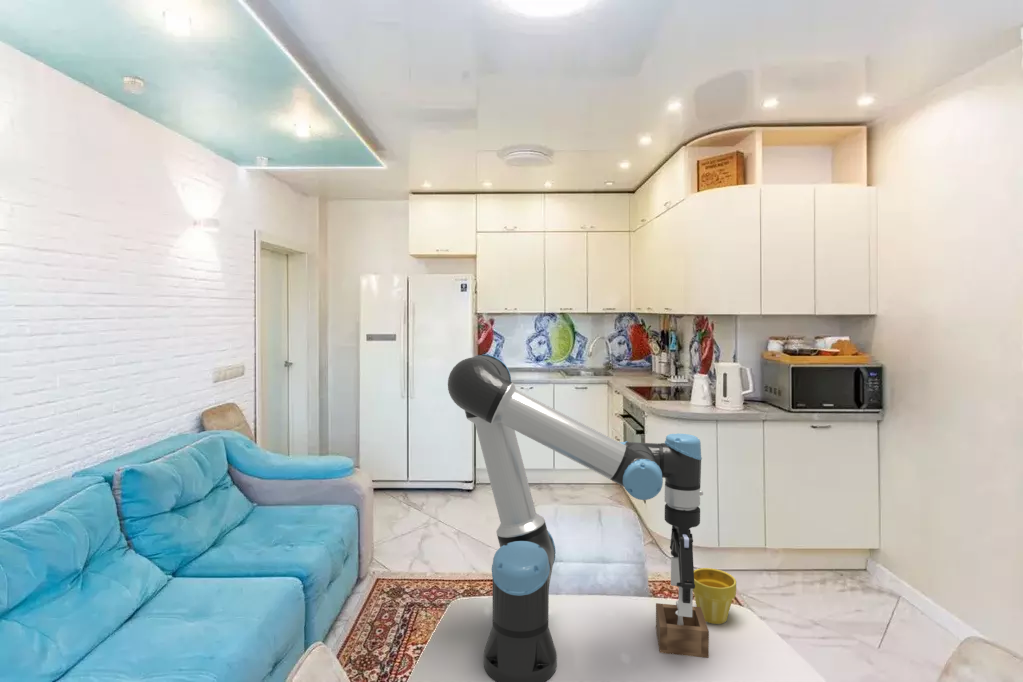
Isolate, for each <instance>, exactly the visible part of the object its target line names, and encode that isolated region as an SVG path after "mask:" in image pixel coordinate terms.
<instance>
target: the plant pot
mask: <svg viewBox="0 0 1023 682" xmlns="http://www.w3.org/2000/svg"><path fill="white" fill-rule="evenodd" d="M694 584H695V588H694V589H693V595H694V601H695V607H701V609H702V612H703V615H704V618H705V621H706V623H709V624H713V625H722V624H725V623H726V622H727V620H728V616H729V613H730V609H731V605H732V602H733V599H735V598H736V595H737V580H736V578H735V577H734V576H733V575H732V574H730V573H729V572H726V571H724V570H722V569H717V568H710V567H700V568H696V569H694Z"/></svg>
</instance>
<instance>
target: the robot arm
mask: <svg viewBox="0 0 1023 682" xmlns="http://www.w3.org/2000/svg"><path fill="white" fill-rule="evenodd" d="M447 390H448V391H447V392H448V394H449V396H450V398H451V400H452V401H453V403H455V405H457V406H458V407H459V408H460V409H462V410H464V412H465V416H466V417H465V418H466V419H467V421H470V422H472V423H473V424H474V425H475V429H476V433H477V436H478V441H479V444H480V449H481V452H482V456H483V461H484V464H485V469H486V472H487V476H488V479H489V482H490V483H489V485H490V487H491V490H492V495H493V499H494V503H495V506H496V510H497V514H498V518H499V522H500V524H499V525H498V528H497V529H496V536H497V541H498V543H499V544H498V545H499V548H498V549H497V550H496V551H495V552H494V555H493V558H492V564H491V576H492V626H491V629H490V633H489V635H488V639H487V642H486V645H485V648H484V653H483V667H484V670H485V672H486V673H487V675H488V677H490V678H491V679H492V680H494V681H496V682H546V681H547V680H549V679H550V678H551V677H553V676H554V674H555V673H556V670H557V665H558V663H557V661H558V660H557V659H558V655H557V654H558V653H557V650H556V646H555V643H554V639H553V636H552V634H551V631H550V628H549V608H550V607H549V604H550V603H549V601H550V599H549V594H550V591H549V590H550V583H551V578H552V573H553V566H554V564H555V562H556V561H555V560H556V545H555V542H554V539H553V536H552V534H551V533H550V531H549V530H548V528H547V524H546V523H547V522H546V520H545V518H544V517H543V516H541V515H540V514H538V513H537V511H536V507H535V504H534V503H535V502H534V500H533V495H532V492H531V489H530V485H529V480H528V477H527V473H526V469H525V465H524V462H523V458H522V453H521V450H520V446H519V442H518V438H517V434H516V432H517V433H520V434H521V435H524V436H525V437H527V438H529V439H531V440H533V441H535V442H537V443H539V444H540V445H542V446H544V447H547V448H548V449H550V450H552V451H553V452H557V453H558V454H560V455H562V456H563V457H566V458H568V459H570V460H572V461H574V462H576V463H577V464H579V465H581V466H583V467H585V468H586V469H589V470H591V471H593V472H595V473H597V474H598V475H600V476H602V477H604V478H606V479H609V481H612V482H613V483H616V484H617V485H620V487H621V486H622V487H623V488H624V490H625V491H626V492H627V493H628V494H629V496H631V497H632V498H635V499H637V500H640V501H648V500H651V499H654V498H655V497H656V496H658V495H659V493H660V492H661V491H662V487H663V485H664V503H665V504H664V521H665V523H667V524H668V525H669V526H671V534H670V544H669V545H670V546H669V549H670V555H671V556H670V585H671V586H673V587H674V586H675V587H678V600H679V607H678V615H679V616H683V617H692V606H693V602H694V601H693V595H694V592H693V589H694V588H695V584H694V570H695V569H694V568H695V567H694V566H695V565H694V552H693V551H694V550H693V548H694V547H693V543H694V539H693V538H694V537H693V533H692V532H691V528H696V527H698V526H700V523H701V508H700V506H701V496H703V495H704V492H703V490H701V476H702V475H701V474H702V459H703V457H702V448H701V447H702V445H701V440H700V439H699V437H697V436H695V435H692V434H688V433H670V434H667V435H666V436H665V441H664V442H661V443H656V442H655V443H653V442H634V441H626V440H625V441H617V440H615V439H614V438H612V437H610V436H608V435H606V434H604V433H602V432H600V431H598V430H595V429H594V428H592V427H590V426H588V425H587V424H584V423H582V422H581V421H578V420H576V419H574V418H572V417H571V416H569V415H566V414H565V413H563V412H560V411H558V410H556V409H555V408H552V407H550V406H549V405H546V404H545V403H543V402H541V401H539V400H537V399H535V398H533V397H531V396H529V395H527V394H525V393H523V392H522V391H520V390H518V389H517V388H516V386H515V383H514V382H513V381H512V376H511V372H510V369H509V368H508V366H507V365H506V363H505V362H503V360H501V359H500V358H498V357H496V356H493V355H489V354H481V355H480V354H477V355H475V356H472V357H467V358H465V359H462V360H461V361H459V362H458V363H456V364H455V366H453V368H452V369H451V371H450V372H449V375H448V378H447ZM664 480H665V481H664ZM663 481H664V482H663ZM663 483H664V484H663Z"/></svg>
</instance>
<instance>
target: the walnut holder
mask: <svg viewBox="0 0 1023 682" xmlns="http://www.w3.org/2000/svg"><path fill="white" fill-rule="evenodd" d="M677 610H678V609H677V605H676V604H671V603H670V604H668V603H657V602H656V603H655V631H656V637H657V644H658V649H659V650H658V651H659V654H668V655H674V656H675V655H676V656H677V655H678V656H686V657H696V658H704V659H709V657H710V655H709V654H710V653H709V651H710V649H709V647H710V646H709V645H710V639H709V638H710V631H709V628H708V624H707V622H706V621H705V618H704V615H703V612H702V609H701V607H697V606H693V605H692V617H683V625H677V622H678V615H676V611H677Z"/></svg>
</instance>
